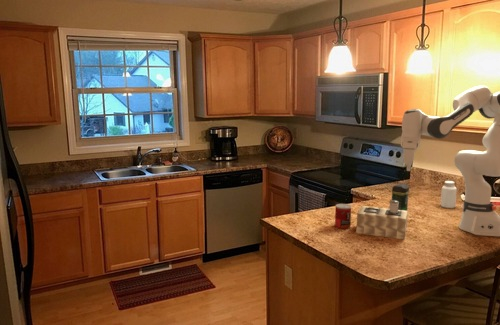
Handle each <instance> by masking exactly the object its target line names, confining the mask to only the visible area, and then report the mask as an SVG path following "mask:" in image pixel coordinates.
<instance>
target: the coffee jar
mask: <svg viewBox="0 0 500 325" xmlns="http://www.w3.org/2000/svg"><path fill="white" fill-rule="evenodd" d="M409 193H410V186H409V185H408V184H405V183H401V182H400V183H398V184H394V185H393V186H392V188H391V200H397V201H399V204H398V210H405V211H408V203H409Z"/></svg>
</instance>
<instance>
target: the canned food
mask: <svg viewBox="0 0 500 325" xmlns="http://www.w3.org/2000/svg"><path fill="white" fill-rule="evenodd" d="M334 210H335V215H334V226H335V227H336V228H337V229H341V230H348V229H350V228H351V220H352V205H351V204H348V203H337V204H335V209H334Z"/></svg>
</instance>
